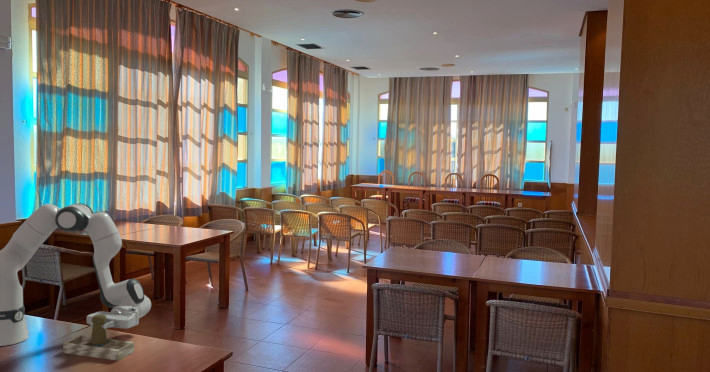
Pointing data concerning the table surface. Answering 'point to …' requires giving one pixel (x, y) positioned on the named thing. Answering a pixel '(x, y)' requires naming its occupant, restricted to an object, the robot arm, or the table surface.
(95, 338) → the cork
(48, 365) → the table surface
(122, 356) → the divided tray
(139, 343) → the table surface
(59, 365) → the table surface
